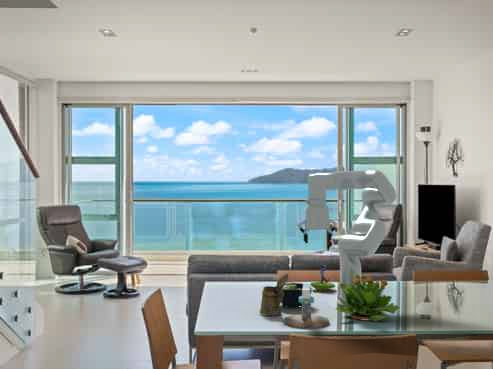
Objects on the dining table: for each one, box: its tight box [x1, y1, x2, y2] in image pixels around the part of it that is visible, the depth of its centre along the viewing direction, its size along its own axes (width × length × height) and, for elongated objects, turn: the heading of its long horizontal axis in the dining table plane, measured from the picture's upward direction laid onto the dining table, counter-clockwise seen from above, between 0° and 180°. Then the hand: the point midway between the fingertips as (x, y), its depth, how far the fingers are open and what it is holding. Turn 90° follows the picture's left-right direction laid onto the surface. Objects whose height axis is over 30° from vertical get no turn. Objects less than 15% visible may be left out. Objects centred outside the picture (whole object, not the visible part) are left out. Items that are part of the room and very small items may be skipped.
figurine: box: [309, 259, 336, 292], centre depth 308 cm, size 14×13×15 cm
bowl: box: [274, 282, 312, 308], centre depth 270 cm, size 17×17×10 cm
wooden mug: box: [259, 273, 289, 316], centre depth 253 cm, size 9×14×18 cm, turn 49°
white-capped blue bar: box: [299, 283, 315, 304], centre depth 239 cm, size 14×6×6 cm, turn 174°
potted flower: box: [335, 273, 400, 322], centre depth 248 cm, size 25×24×18 cm
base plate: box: [283, 303, 330, 329], centre depth 239 cm, size 18×18×8 cm
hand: (317, 242), depth 258 cm, fingers open, 9 cm apart
